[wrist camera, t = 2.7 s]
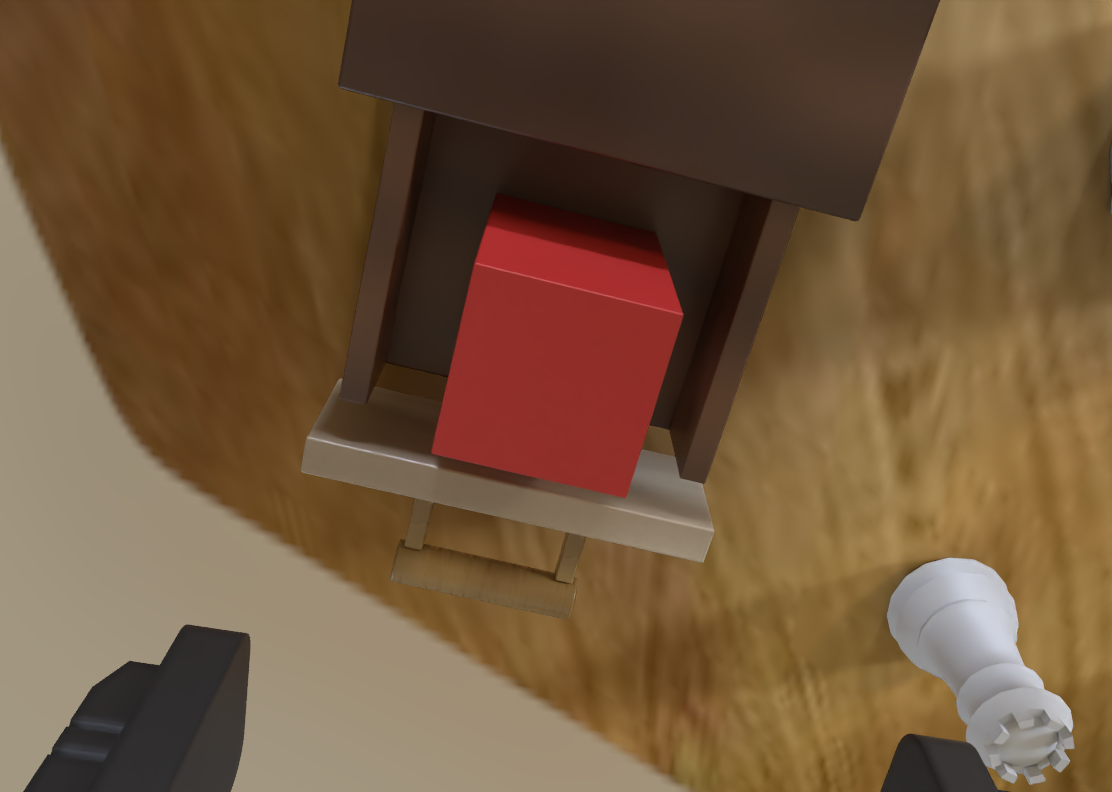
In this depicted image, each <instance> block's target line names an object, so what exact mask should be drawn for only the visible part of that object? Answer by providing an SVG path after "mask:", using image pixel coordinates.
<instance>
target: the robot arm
mask: <svg viewBox="0 0 1112 792" xmlns="http://www.w3.org/2000/svg"><path fill="white" fill-rule="evenodd" d="M249 660H250V637H249V634H247V633H241V632H234V631H228V630H221V629H214V628H208V627H200V626H194V625H185V626H184V627H183V628H182V629H181V630H180V632H179V633H178V635H177V637H176V638H175V640H174V642H173V644H172V645H171V647H170V649H169V650H168V652H167V654H166V656H165V657H164V659H163V661H162V663H161V664H160V665H154V664H147V663H140V662H133V661H129V662H127V663H126V664H124V665H123V666H122V667H120V668H119V669H117V670H116V671H115V672H113V673H112V674H110V675H109V676H107V677H106V678H105V679H103V680H102V681H100V682H99V683H98V684H96V685H95V686H93V687H92V689H91V690H90V691H89V693H88V694H87V696H86V698H85V699H84V701H83V702H82V704H81V705H80V707H79V708H78V710H77V711H76V713H75V714H74V716H73V717H72V719H71V722H70V725H69V727H66V728H65V729H64V731H63V732H62V734H61V735H60V737H59V738H58V740H57V741H56V743H55V744H54V746H53V749H52V752H51V755H47V757H46V758H45V760H44V761H43V763H42V764H41V766H40V767H39V769H38V770H37V772H36V773H35V775H34V776H33V778H32V779H31V781H30V782H29V784H28V785H27V787H26V788H25V790H24V791H23V792H230V791H231V789H232V786H233V783H234V780H235V777H236V773H237V770H238V766H239V761H240V757H241V752H242V746H243V739H244V728H245V714H246V701H247V687H248V673H249ZM881 792H1009V791H1002V790H998V789H997V787H996V786H995V784H994V782H993V780H992V778H991V776H990V774H989V772H988V770H987V768H986V766H985V764H984V762H983V761H982V759H981V757H980V755H979V753H978V751H977V750H976V748H975V747H974V746H973V745H972V744H970V743H968V742H963V741H956V740H949V739H943V738H936V737H929V736H922V735H916V734H907V735H905V736H904V737H903V738H902V739H901V741H900V742H899V744H898V746H897V749H896V751H895V754H894V757H893V759H892V762H891V765H890V767H889V770H888V773H887V776H886V778H885V781H884V784H883V786H882V789H881Z"/></svg>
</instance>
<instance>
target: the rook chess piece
mask: <svg viewBox="0 0 1112 792" xmlns="http://www.w3.org/2000/svg"><path fill="white" fill-rule="evenodd" d="M887 619H888V623H889V628H890V632H891V635H892V636H893V637H894V638H895V640H896V641H897V642H898V643H899V646H900V649H901V650H902V651H903V652H904V653H905V655H906V656H907V657H908V658H909V659H910V660H911V661H912V663H913V664H915V665H916V666H917V667H918V668H920V669H922V670H925V671H927V672H929V673H931V674H932V675H934V676H936V677H938V678H941V679H943V680H944V681H945V682H946V684H947V685H948V686H949V687H950V689H951V690H952V691H953V692H954V694H955V696H956V697H957V702H956V704H957V709H958V714H959V717H960V718H961V719H962V720H963V721H964V722H965V723H966V725H967V726H968V728H967V731H966V740H967V742H968V743H970V744H972V745H973V746H974V747H975V748H976V750H977V751H978V753H979V755H980V757H981V759H982V761H983V762H984V764H985V766H987V767H990V768H992V769H994V770H996V771H997V772H998V774H999V776H1000V778H1002V779H1004V780H1007V781H1009V782H1011V783H1013V784H1014V783H1015V781H1016V779H1017V777H1018V776H1017V774H1024V775H1025V777H1026V779H1027V781H1028V783H1029V784H1030V785H1031V784H1035V783H1040V782H1044V781H1046V780H1045V778H1044V776H1043V774H1042V772H1041V769H1043V768H1045V767H1047V766H1048V765H1050V764H1052V766H1053V768H1054V769H1056V770H1057V771H1058V772H1060V773H1061V772H1062V770H1063V769H1064V768H1065V767H1066V766H1067V765H1068V764H1069V763H1070V760H1069V758H1068V757H1067V755H1066V754H1065V752H1064V749H1075V747H1074V741H1073V736H1072V734H1071V731H1072V728H1073V721H1072V715H1071V710H1070V708H1069V707H1068V706H1067V705H1066V704H1065V702H1064V701H1063V700H1062V699H1061V697H1060V696H1057V695H1055V694H1053V693H1051V692H1049V691H1047V690H1045V689H1044V685H1043V681H1042V680H1041V679H1040V678H1039V676H1038V675H1037V674H1036V673H1035V671H1033V670H1031V669H1029V668H1027V667H1025V666H1024V664H1023V661H1022V659H1021V656H1020V654H1019V651H1018V649H1017V647H1016V641H1017V629H1018V626H1019V624H1018V618H1017V613H1016V607H1015V602H1014V599H1013V597H1012V596H1011V595H1010V594H1009V593H1008V591H1007V586H1006V584H1005V583H1004V582H1003V580H1002V579H1001V578H1000V577H999V575H998V574H997V573H996V572H995V570H994V569H992V568H990V567H988V566H986V565H984V564H982V563H980V562H978V561H976V560H973V559H960V558H945V559H941V560H937V561H934V562H930V563H926V564H924V565H922V566H921V567H919V568H918V569H916V570H914V571H913V572H911V573H910V574H908V575H907V576H906V577H905V578H904V579H903V581H902V582H901V583H900V585H899V586H898V587H897V589H896V590H895V592H894V593H893V594H892V596H891V600H890V604H889V608H888V612H887Z"/></svg>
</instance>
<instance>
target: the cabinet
mask: <svg viewBox="0 0 1112 792" xmlns="http://www.w3.org/2000/svg"><path fill="white" fill-rule="evenodd" d="M939 2H940V0H352V4H351V10H350V16H349V22H348V28H347V34H346V40H345V46H344V52H343V58H342V64H341V70H340V76H339V82H338V85H339V88H341V89H344V90H348V91H351V92H355V93H359V94H363V95H367V96H371V97H375V98H379V99H382V100H386V101H390V102H394V103H398V104H402V105H406V106H410V107H413V108H417V109H421V110H425V111H429V112H433V113H437V114H441V115H445V116H448V117H452V118H456V119H460V120H464V121H468V122H472V123H476V124H479V125H483V126H487V127H491V128H495V129H499V130H503V131H507V132H510V133H514V134H518V135H522V136H526V137H530V138H534V139H538V140H542V141H545V142H549V143H553V144H557V145H561V146H565V147H569V148H573V149H576V150H580V151H584V152H588V153H592V154H596V155H600V156H604V157H607V158H611V159H615V160H619V161H623V162H627V163H631V164H635V165H638V166H642V167H646V168H650V169H654V170H658V171H662V172H666V173H670V174H673V175H677V176H681V177H685V178H689V179H693V180H697V181H701V182H704V183H708V184H712V185H716V186H720V187H724V188H728V189H732V190H735V191H739V192H743V193H747V194H751V195H755V196H759V197H763V198H767V199H770V200H774V201H778V202H782V203H786V204H790V205H794V206H798V207H801V208H805V209H809V210H813V211H817V212H821V213H825V214H829V215H832V216H836V217H840V218H844V219H848V220H852V221H858V220H859V219H860V217H861V214H862V212H863V209H864V206H865V203H866V201H867V198H868V195H869V193H870V190H871V187H872V184H873V182H874V179H875V176H876V173H877V171H878V168H879V165H880V163H881V160H882V157H883V154H884V152H885V149H886V146H887V143H888V141H889V138H890V135H891V133H892V130H893V127H894V124H895V122H896V119H897V116H898V113H899V111H900V108H901V105H902V103H903V100H904V97H905V94H906V92H907V89H908V86H909V84H910V81H911V78H912V75H913V73H914V70H915V67H916V64H917V62H918V59H919V56H920V54H921V51H922V48H923V45H924V43H925V40H926V37H927V34H928V32H929V29H930V26H931V24H932V21H933V18H934V15H935V13H936V10H937V7H938V4H939Z"/></svg>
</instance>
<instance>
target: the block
mask: <svg viewBox="0 0 1112 792" xmlns="http://www.w3.org/2000/svg"><path fill="white" fill-rule="evenodd" d="M682 319H683V312H682V309H681V306H680V303H679V300H678V297H677V294H676V291H675V288H674V285H673V282H672V279H671V276H670V273H669V270H668V267H667V264H666V261H665V258H664V255H663V252H662V249H661V246H660V243H659V240H658V237H657V234H656V233H654V232H650V231H646V230H642V229H638V228H634V227H630V226H626V225H622V224H618V223H614V222H610V221H606V220H602V219H598V218H594V217H590V216H586V215H582V214H578V213H574V212H570V211H567V210H563V209H559V208H555V207H551V206H547V205H543V204H539V203H535V202H531V201H527V200H523V199H519V198H515V197H511V196H507V195H503V194H499V193H496V195H495V198H494V201H493V205H492V208H491V211H490V214H489V217H488V221H487V224H486V227H485V230H484V233H483V237H482V240H481V243H480V246H479V249H478V253H477V256H476V259H475V262H474V266H473V270H472V274H471V279H470V283H469V288H468V292H467V296H466V301H465V305H464V309H463V314H462V318H461V323H460V327H459V331H458V336H457V340H456V345H455V349H454V353H453V358H452V362H451V366H450V371H449V375H448V380H447V384H446V388H445V393H444V397H443V401H442V406H441V410H440V415H439V419H438V423H437V428H436V432H435V436H434V441H433V445H432V450H431V453H432V454H435V455H439V456H444V457H448V458H452V459H457V460H461V461H465V462H470V463H474V464H479V465H483V466H487V467H492V468H496V469H500V470H505V471H509V472H513V473H518V474H522V475H526V476H531V477H535V478H539V479H544V480H548V481H552V482H557V483H561V484H566V485H570V486H574V487H579V488H583V489H587V490H592V491H596V492H600V493H605V494H609V495H613V496H618V497H622V498H626V497H627V494H628V491H629V488H630V485H631V482H632V478H633V475H634V472H635V469H636V466H637V462H638V459H639V456H640V453H641V450H642V447H643V443H644V440H645V437H646V434H647V431H648V427H649V424H650V421H651V418H652V415H653V411H654V408H655V405H656V402H657V399H658V395H659V392H660V389H661V386H662V383H663V379H664V376H665V373H666V370H667V367H668V363H669V360H670V357H671V354H672V351H673V348H674V344H675V341H676V338H677V335H678V332H679V328H680V325H681V322H682Z"/></svg>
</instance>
